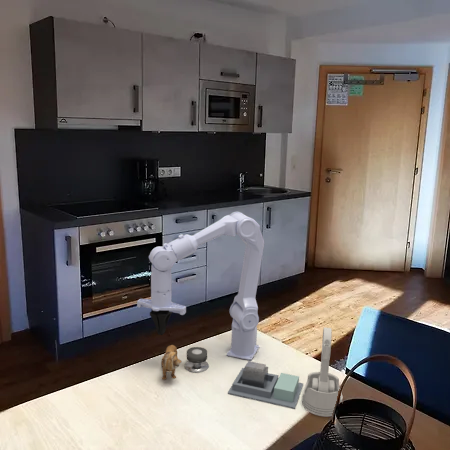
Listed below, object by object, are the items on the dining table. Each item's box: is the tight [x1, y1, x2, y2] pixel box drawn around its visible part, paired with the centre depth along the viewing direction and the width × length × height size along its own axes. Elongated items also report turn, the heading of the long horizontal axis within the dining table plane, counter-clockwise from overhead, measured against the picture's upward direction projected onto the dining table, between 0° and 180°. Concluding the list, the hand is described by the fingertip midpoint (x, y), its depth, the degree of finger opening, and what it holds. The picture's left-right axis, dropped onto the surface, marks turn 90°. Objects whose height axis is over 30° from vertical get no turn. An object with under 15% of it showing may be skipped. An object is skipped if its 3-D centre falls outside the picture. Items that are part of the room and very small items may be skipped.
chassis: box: [227, 367, 304, 410], centre depth 126 cm, size 12×18×3 cm, turn 71°
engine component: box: [301, 326, 344, 417], centre depth 119 cm, size 11×20×10 cm
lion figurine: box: [160, 344, 182, 381], centre depth 133 cm, size 15×5×9 cm, turn 10°
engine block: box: [242, 360, 269, 389], centre depth 127 cm, size 4×6×6 cm
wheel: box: [186, 346, 208, 363], centre depth 136 cm, size 6×6×2 cm
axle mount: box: [184, 360, 210, 374], centre depth 137 cm, size 7×7×2 cm
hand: (161, 333), depth 135 cm, fingers closed
